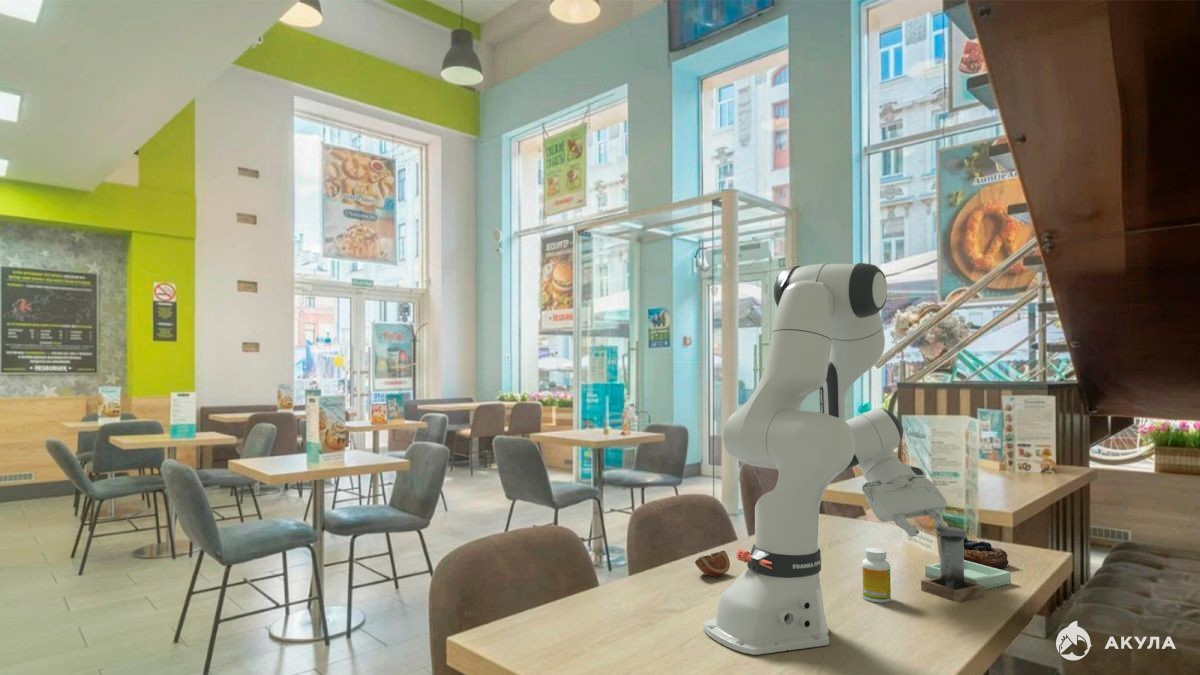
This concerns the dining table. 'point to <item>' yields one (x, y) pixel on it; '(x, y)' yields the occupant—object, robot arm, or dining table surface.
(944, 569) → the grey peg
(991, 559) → the pastry
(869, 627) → the dining table surface
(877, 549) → the supplement bottle
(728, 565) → the fruit slice
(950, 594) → the socket block
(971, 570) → the tray
